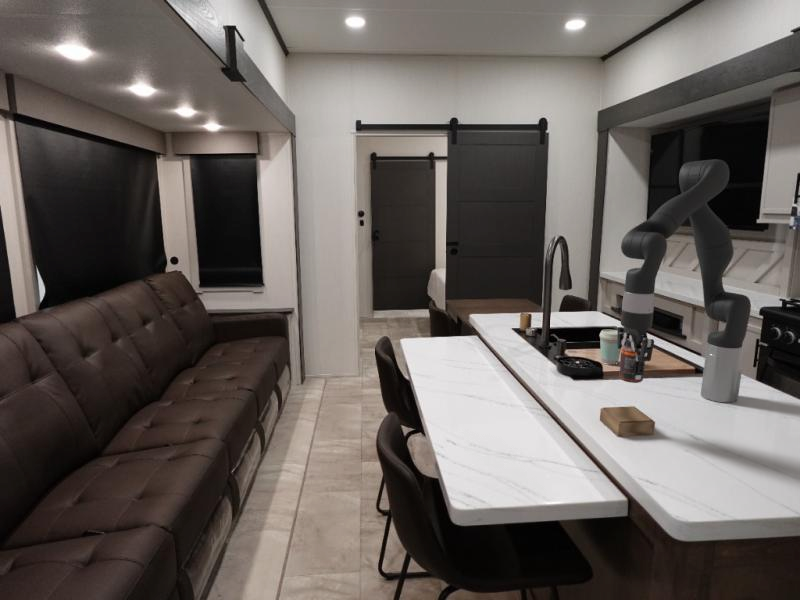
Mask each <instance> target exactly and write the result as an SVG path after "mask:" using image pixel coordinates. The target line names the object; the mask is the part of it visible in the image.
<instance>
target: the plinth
mask: <svg viewBox="0 0 800 600" xmlns="http://www.w3.org/2000/svg"><path fill="white" fill-rule="evenodd" d="M599 412H600V414H599V417H600V418H599V421H600V422H601V423H602V424H603V425H604V426H605V427H607V429H609V430H610V432H612V434H614V435H615V436H616V437H634V436H635V437H637V436H639V437H640V436H654V435H655V428H656V421H655V420H653V419H652V418H651V417H649V416H648V415H647V414H646V413H644V412H643V411H641V410H640V409H639V408H637V407H636V406H633V405H632V406H631V405H630V406H609V407H608V406H607V407H602V408H600V411H599Z"/></svg>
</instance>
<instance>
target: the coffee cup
mask: <svg viewBox="0 0 800 600" xmlns="http://www.w3.org/2000/svg"><path fill="white" fill-rule="evenodd" d="M617 336H618V329H602V330H601V331H600V333H599V339H600V341H599V342H600V343H599V344H600V363H602V362H603V363H607V364H616V363H618V364H619V361H620V360H619V359H620V356H621V351H620V350H621V349H618V347H617ZM622 336H623V335H622ZM621 343H622V341H621ZM603 363H602V364H603Z"/></svg>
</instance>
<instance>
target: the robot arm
mask: <svg viewBox="0 0 800 600" xmlns="http://www.w3.org/2000/svg"><path fill="white" fill-rule="evenodd" d="M679 169H680V170H679V174H678V181H679V182H678V183H679V189H680V194H679V195H676V196H675V197H673V198H670V199H669V200H667V201H666V202H664V203H663V204H662V205H661V206H660V207H659V208H658V209H657V210H656V211H655V212H654V213H653V214H652V215H651V216H650V218H648V219H647V220H644V221H643V222H641V223H639V224H638V225H636V226H634V227H633V228H631V229H630V230H629V231H628V232H627V233H626V234H625V235H624V237H623V238H622V241H621V243H620V244H621V245H620V249H621V252H622V254H623V255H624V256H625V257H626V258H629V259H636V260H643V263H642V266H640V267H635V268H630V269H628V270H627V271H626V274H625V282H624V283H625V285H624V293H623V297H622V304H621V314H620V325H621V326H619V327H617V331H618V336H617V347H618V349H622V347H623V346H624V345H626V339H627V338H629V339H630V342H631V347H632V352H633V353H635V366H634V374H635V375H643V376H644V374H643V372H644V373H645V365H644V363H646V362H651V360H652V355H653V349H654V347H655V340H654V339H653V338H650V339H649V338H648V333H647V331H648V330H650V329H652V327H653V320H654V319H653V318H654V308H655V289H656V278H657V275H658V272H659V270H660V267H661V264H662V262H663V259H664V258H665V256H666V252H667V249H668V248H667V247H668V246H667V245H668V243H667V239H670V238H671V237H672V236H673V235H674V234H675V232H676V231H677V230H678V229H679V228H680V227H681V225H683V224H684V223H685V221H686V220H687V219H689V221H690V225H691V230H692V235H693V241H694V247H695V251H696V255H697V259H698V265H699V268H700V276H701V283H702V290H703V291H702V293H703V306H704V311H705V314H706V315H707V317H708V318H709V319H710V320H712V321H716V322H722V323H725V327H724V329H723V330H718V331H712V332H709V333H708V335H707V338H706V339H707V340H706V348H705V356H704V357H705V358H704V364H703V372H702V382H701V387H700V396H701V397H703V398H704V399H707V400H710V401H713V402H718V403H732V402H734V401H738V400H739V393H740V387H741V381H742V380H741V379H742V370H741V369H740V365H741V359H742V358H741V357H742V349H743V343H744V340H745V337H746V335H747V331H748V325H749V321H750V316H751V311H752V310H751V309H752V306H751V305H752V304H751V300H750V298H749V296H747V295H745V294H741V293H736V292H730V291H726V290H725V289H724V285H723V276H724V273H725V271H726V270H727V268H728V266H729V265H730V264H731V261H732V260H733V257H734V251H735V250H734V245H733V240H732V235H731V231H730V229H729V227H728V226H727V225H726V224H725V223H724V222H723V221H722V219H721V218H720V217H719V216H717V214H715V212H714V211H713V210H712V209H711V208H710V206H709V204H708V202H709V201H711V200H712V199H713V198H715V197H716V196H717V195H719V194H720V193H721V192H723V190H724V189H725V188H726V187H727V185H728V183H729V181H730V168H729V165H728V163H727V162H726V161H724V160H722V159H715V158H714V159H706V160H695V161H688V162H685V163H684V164H682V166H681V168H679ZM622 335H623V336H622ZM621 341H622V343H621ZM637 348H641V349H637ZM620 352H621V350H620ZM639 352H640V357H639Z"/></svg>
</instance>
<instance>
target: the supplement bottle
mask: <svg viewBox="0 0 800 600" xmlns="http://www.w3.org/2000/svg"><path fill="white" fill-rule="evenodd" d="M637 349H641V348H637ZM639 357H640V352H639ZM619 359H620V360H619V361H620V362H619V371H618V378H619V379H620V380H622V381H623V382H626V383H632V384H639V383H642V382H643V380H644V374H645V371H644V372H643V375H635V374H634V366H635V353H633V352H632V347H631V342H630V339H629V338H627V339H626V345H624V346H623V347H622V349H621V351H620V358H619ZM645 363H646V362H645ZM645 363H644V366H645V365H646V364H645Z"/></svg>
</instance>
